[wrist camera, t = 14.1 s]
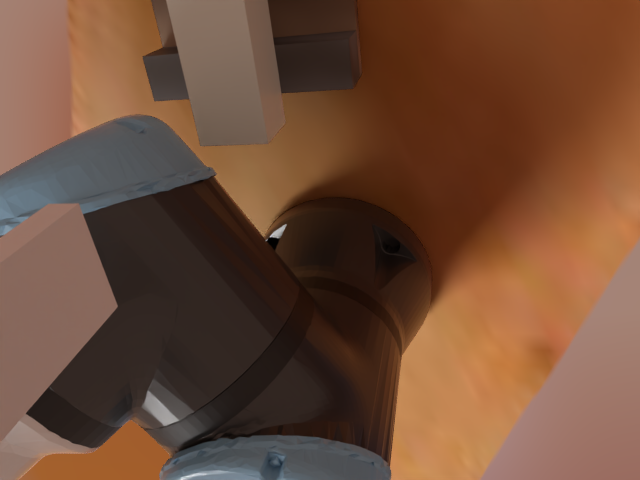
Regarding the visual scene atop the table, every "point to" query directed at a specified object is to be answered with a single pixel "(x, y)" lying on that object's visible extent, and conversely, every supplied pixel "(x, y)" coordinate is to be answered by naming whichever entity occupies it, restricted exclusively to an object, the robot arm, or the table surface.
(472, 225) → the table surface
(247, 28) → the clay strip
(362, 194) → the table surface
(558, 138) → the table surface
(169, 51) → the dark grey rimmed tray
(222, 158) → the table surface
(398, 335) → the robot arm
